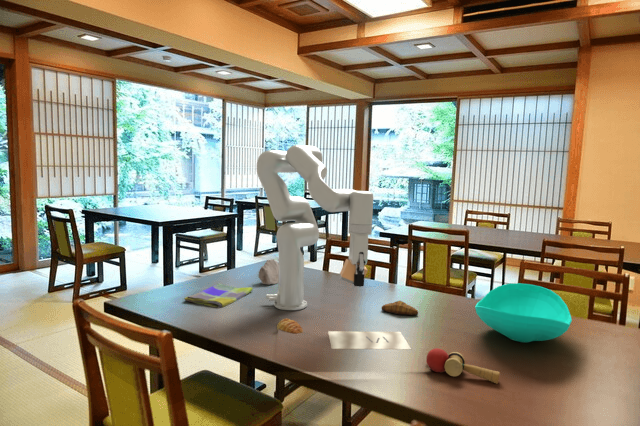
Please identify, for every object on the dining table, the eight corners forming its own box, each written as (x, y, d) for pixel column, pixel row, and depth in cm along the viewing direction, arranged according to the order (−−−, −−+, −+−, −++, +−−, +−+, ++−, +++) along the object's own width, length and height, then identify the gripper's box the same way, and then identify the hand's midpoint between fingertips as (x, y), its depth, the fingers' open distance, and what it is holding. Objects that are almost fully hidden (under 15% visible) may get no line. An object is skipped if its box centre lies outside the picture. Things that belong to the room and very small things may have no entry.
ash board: (331, 353, 123) (331, 348, 122) (327, 335, 136) (328, 331, 135) (411, 354, 124) (411, 348, 124) (400, 336, 137) (400, 331, 137)
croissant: (379, 313, 158) (379, 300, 158) (383, 308, 165) (383, 295, 164) (416, 319, 154) (417, 305, 153) (419, 313, 160) (419, 300, 159)
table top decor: (566, 373, 115) (571, 325, 113) (460, 348, 129) (463, 305, 128) (571, 328, 148) (574, 291, 147) (486, 312, 163) (489, 278, 161)
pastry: (308, 336, 136) (308, 324, 135) (291, 341, 131) (291, 329, 131) (291, 327, 143) (291, 315, 142) (274, 331, 139) (274, 320, 138)
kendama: (496, 379, 113) (427, 357, 120) (501, 359, 111) (431, 338, 118) (494, 398, 106) (422, 373, 113) (500, 377, 104) (426, 353, 111)
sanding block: (340, 278, 139) (348, 262, 138) (339, 275, 144) (346, 258, 143) (360, 287, 140) (367, 270, 139) (358, 282, 145) (365, 266, 144)
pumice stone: (267, 286, 189) (267, 264, 188) (254, 283, 193) (255, 261, 192) (289, 280, 201) (290, 259, 200) (277, 277, 205) (277, 256, 204)
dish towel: (254, 293, 180) (255, 286, 180) (220, 310, 158) (220, 302, 158) (220, 287, 187) (220, 281, 187) (181, 303, 165) (181, 296, 164)
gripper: (345, 224, 148) (343, 276, 150) (352, 232, 131) (349, 291, 133) (367, 225, 149) (364, 277, 151) (376, 233, 132) (373, 291, 134)
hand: (357, 283), depth 142 cm, fingers closed on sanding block, 5 cm apart
